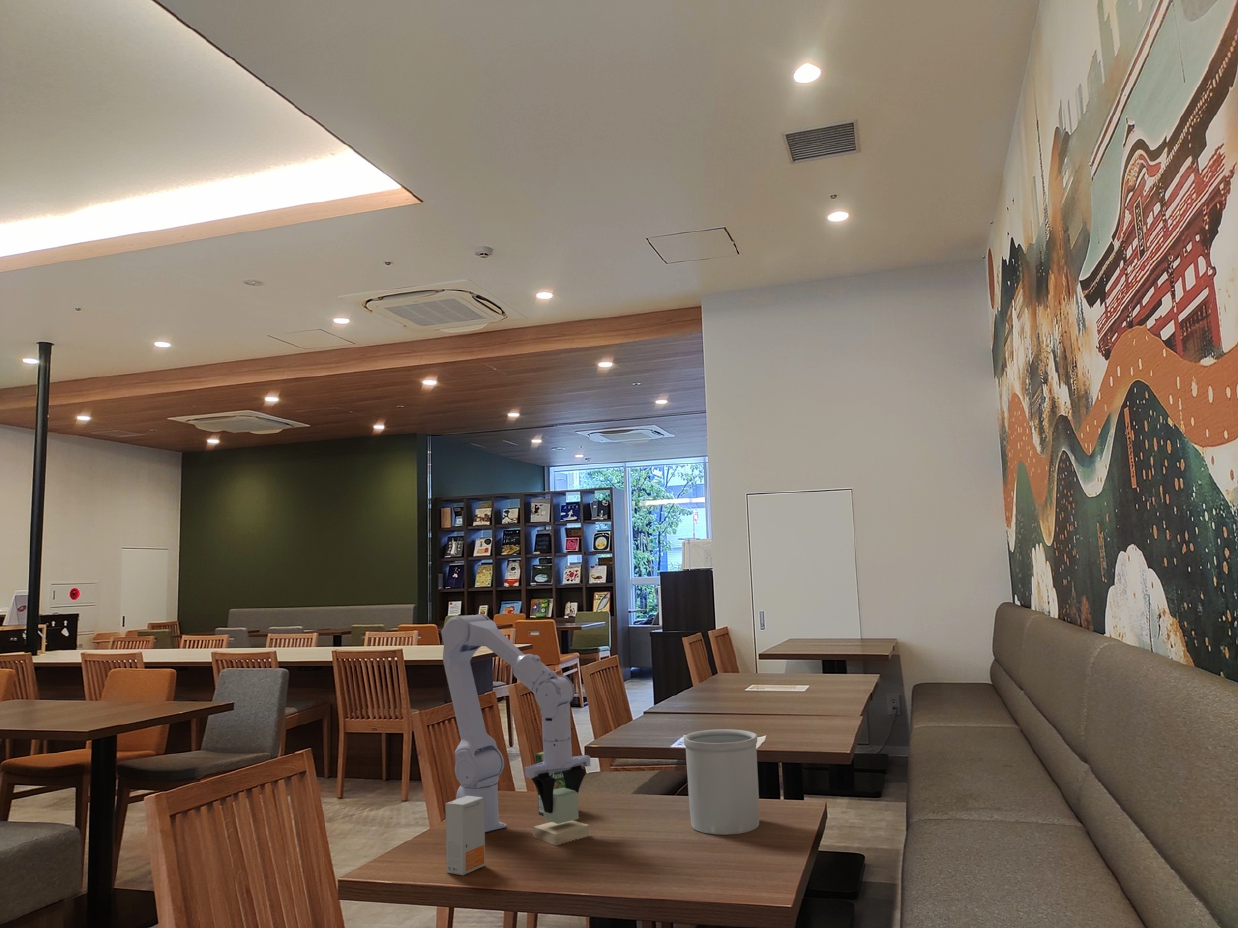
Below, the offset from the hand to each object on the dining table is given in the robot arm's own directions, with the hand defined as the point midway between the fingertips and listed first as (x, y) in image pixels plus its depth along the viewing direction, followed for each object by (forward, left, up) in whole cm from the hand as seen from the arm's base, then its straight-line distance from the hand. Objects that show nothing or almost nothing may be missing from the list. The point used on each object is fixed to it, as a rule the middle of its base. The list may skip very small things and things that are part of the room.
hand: (560, 809), depth 174 cm
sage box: (0, 0, -2) cm, 2 cm away
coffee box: (-17, +10, -5) cm, 20 cm away
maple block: (0, 0, -6) cm, 6 cm away
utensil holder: (+19, +27, -5) cm, 33 cm away
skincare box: (+4, -23, -5) cm, 24 cm away
